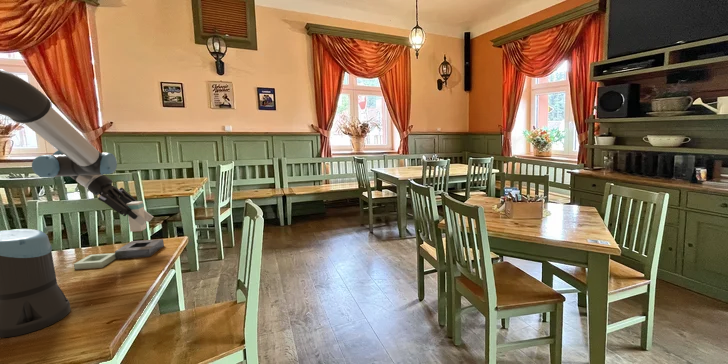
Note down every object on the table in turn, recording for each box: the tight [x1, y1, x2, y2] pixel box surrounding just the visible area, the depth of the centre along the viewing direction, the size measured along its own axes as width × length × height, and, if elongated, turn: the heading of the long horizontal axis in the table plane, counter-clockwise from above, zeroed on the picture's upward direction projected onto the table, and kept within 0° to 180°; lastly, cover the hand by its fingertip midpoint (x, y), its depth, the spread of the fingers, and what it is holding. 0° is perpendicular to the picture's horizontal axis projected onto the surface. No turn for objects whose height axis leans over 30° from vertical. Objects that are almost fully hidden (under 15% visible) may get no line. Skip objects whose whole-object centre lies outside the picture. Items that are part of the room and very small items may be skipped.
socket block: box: [114, 238, 165, 260], centre depth 135 cm, size 12×12×3 cm
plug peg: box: [126, 200, 147, 233], centre depth 134 cm, size 4×4×11 cm
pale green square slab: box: [73, 252, 117, 270], centre depth 125 cm, size 9×9×2 cm
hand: (147, 221), depth 135 cm, fingers closed on plug peg, 4 cm apart
